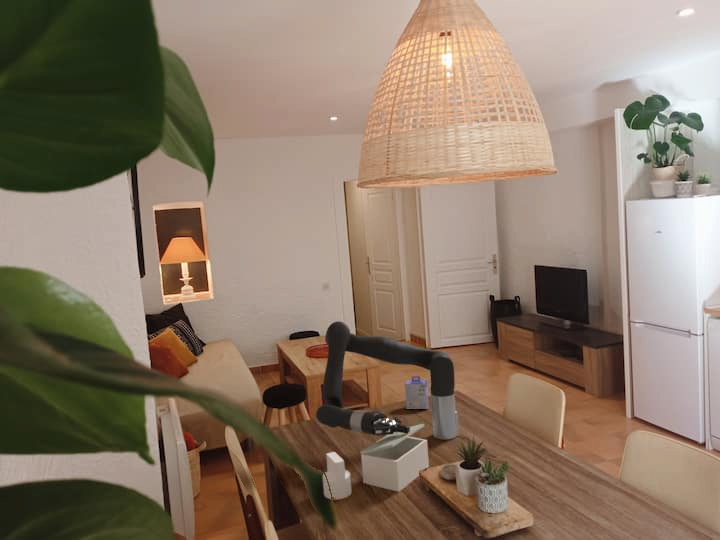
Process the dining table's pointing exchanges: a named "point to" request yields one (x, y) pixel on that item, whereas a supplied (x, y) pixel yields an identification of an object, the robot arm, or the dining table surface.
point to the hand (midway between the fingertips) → (408, 429)
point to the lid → (391, 440)
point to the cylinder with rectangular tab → (336, 478)
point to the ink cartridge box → (416, 394)
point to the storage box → (395, 464)
